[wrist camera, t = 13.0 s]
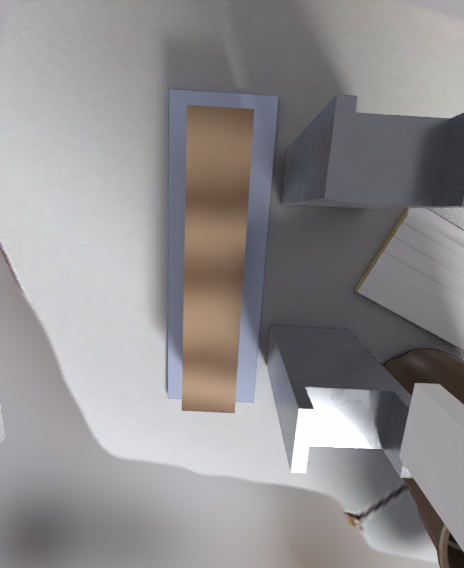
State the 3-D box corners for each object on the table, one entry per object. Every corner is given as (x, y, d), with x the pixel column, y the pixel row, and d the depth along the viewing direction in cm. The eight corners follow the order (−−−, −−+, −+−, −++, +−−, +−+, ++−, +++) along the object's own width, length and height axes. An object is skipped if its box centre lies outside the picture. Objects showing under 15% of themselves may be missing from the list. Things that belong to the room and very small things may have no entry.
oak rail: (234, 378, 34) (234, 413, 28) (190, 376, 34) (181, 410, 28) (249, 130, 28) (254, 108, 22) (196, 127, 28) (187, 104, 22)
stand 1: (365, 208, 30) (480, 207, 16) (281, 204, 30) (324, 198, 16) (373, 156, 29) (505, 104, 15) (286, 150, 29) (337, 94, 15)
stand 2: (340, 369, 35) (414, 478, 21) (266, 365, 35) (290, 472, 20) (346, 328, 33) (429, 414, 19) (270, 325, 33) (298, 408, 19)
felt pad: (253, 399, 36) (253, 402, 35) (168, 395, 35) (167, 398, 35) (277, 98, 28) (278, 95, 27) (170, 91, 28) (169, 89, 27)
